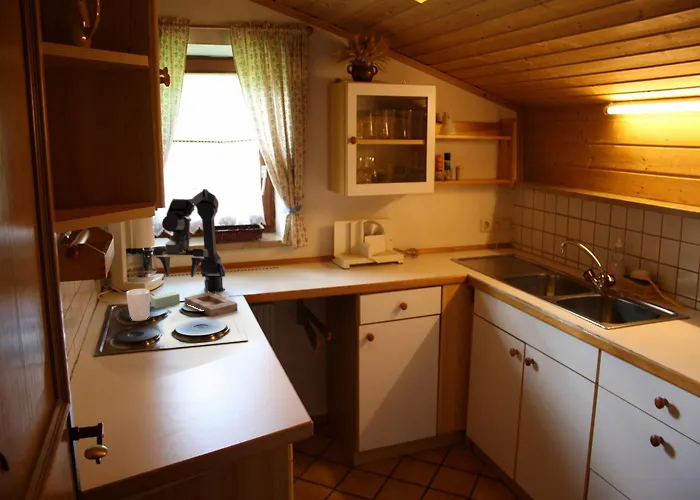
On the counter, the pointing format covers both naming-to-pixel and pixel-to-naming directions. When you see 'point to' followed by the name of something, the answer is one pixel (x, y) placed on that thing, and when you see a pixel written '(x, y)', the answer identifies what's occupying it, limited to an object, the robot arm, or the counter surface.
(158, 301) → the peg
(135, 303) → the white cup
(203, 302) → the brown wooden flat block
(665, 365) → the counter surface
